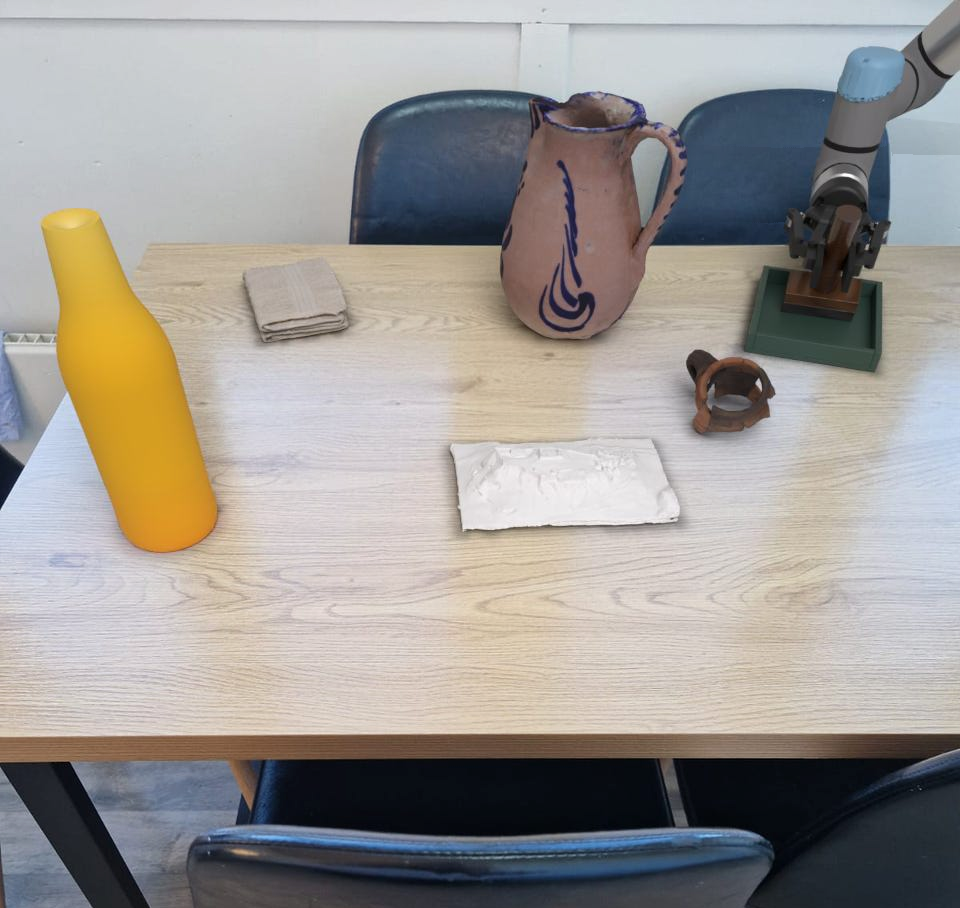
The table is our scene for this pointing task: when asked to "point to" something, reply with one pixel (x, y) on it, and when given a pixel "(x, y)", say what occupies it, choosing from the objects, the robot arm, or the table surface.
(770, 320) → the tray
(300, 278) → the washcloth
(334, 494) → the table surface
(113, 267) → the beer bottle
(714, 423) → the broken clay pot
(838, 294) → the brush
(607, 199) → the ceramic pitcher
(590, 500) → the terrain model
